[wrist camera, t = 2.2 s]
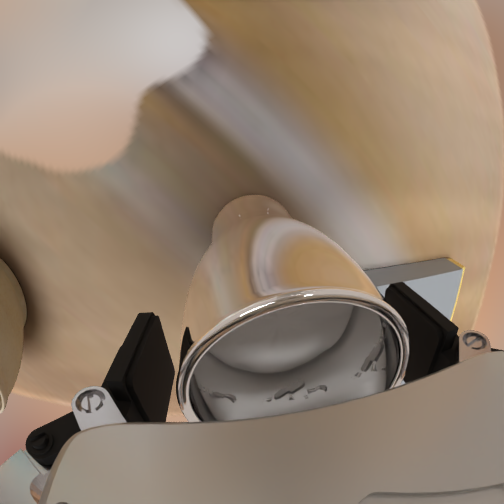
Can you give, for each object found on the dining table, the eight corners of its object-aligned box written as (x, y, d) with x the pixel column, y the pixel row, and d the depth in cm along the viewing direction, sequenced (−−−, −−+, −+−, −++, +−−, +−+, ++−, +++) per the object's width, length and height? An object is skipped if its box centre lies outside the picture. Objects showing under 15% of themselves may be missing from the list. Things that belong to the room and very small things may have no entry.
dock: (318, 276, 22) (330, 294, 19) (448, 257, 23) (466, 268, 20) (310, 405, 28) (316, 424, 25) (415, 375, 29) (426, 390, 26)
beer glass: (315, 247, 21) (428, 388, 7) (239, 293, 22) (258, 472, 8) (268, 169, 19) (377, 215, 5) (187, 222, 20) (111, 371, 6)
